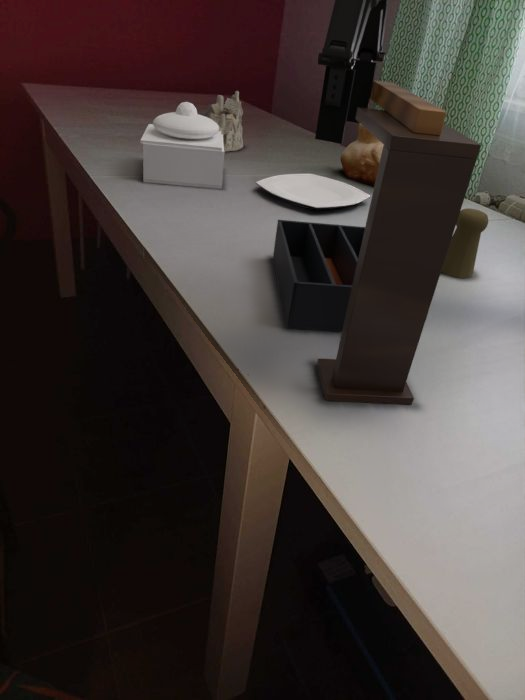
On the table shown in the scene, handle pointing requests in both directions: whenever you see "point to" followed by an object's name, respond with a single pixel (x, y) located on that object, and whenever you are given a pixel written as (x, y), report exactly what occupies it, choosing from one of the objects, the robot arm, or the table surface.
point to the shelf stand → (398, 258)
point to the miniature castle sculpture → (228, 120)
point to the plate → (312, 191)
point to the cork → (465, 243)
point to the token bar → (408, 108)
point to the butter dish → (183, 149)
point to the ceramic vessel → (362, 157)
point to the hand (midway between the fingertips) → (342, 130)
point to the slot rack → (316, 272)
